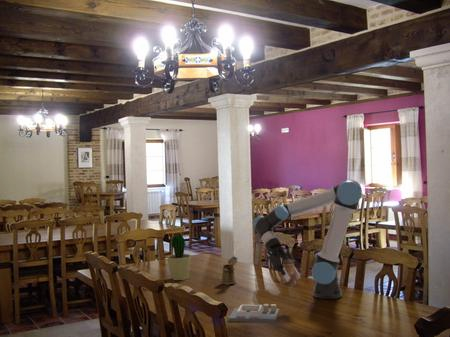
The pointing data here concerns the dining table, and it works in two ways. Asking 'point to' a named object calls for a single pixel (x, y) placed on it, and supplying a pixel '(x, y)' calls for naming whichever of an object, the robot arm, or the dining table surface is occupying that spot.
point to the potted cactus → (179, 259)
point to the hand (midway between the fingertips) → (293, 278)
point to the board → (255, 313)
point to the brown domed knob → (289, 272)
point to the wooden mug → (229, 272)
